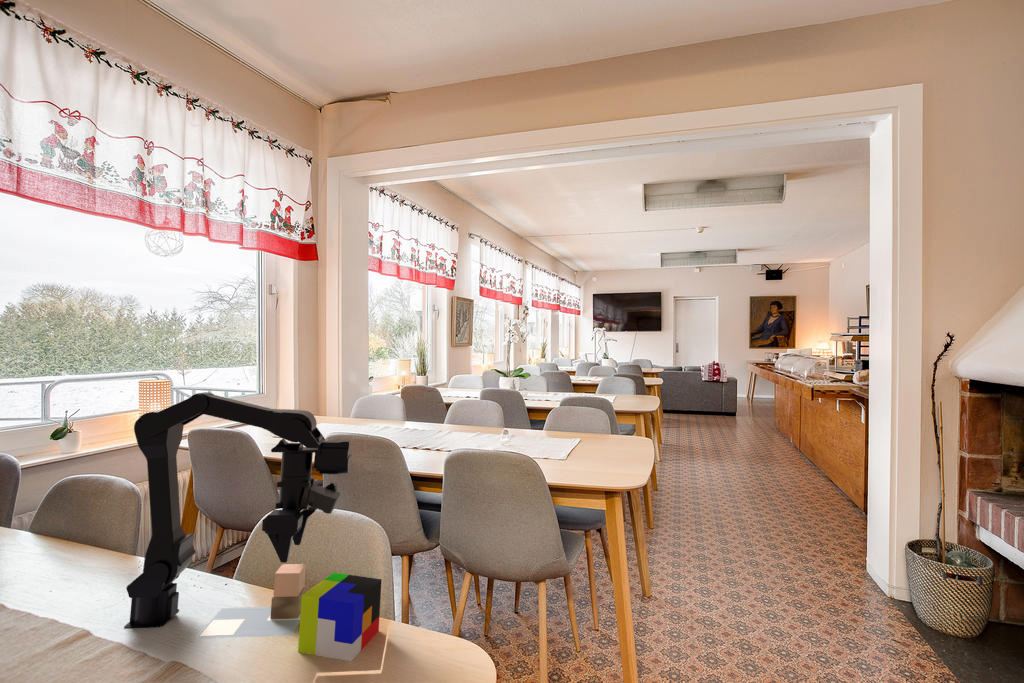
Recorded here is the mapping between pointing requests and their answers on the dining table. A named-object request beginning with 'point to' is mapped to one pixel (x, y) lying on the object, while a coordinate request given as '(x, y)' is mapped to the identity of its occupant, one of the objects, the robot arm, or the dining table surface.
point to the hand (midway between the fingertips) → (291, 553)
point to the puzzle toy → (339, 616)
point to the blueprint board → (247, 624)
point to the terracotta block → (289, 580)
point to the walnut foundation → (286, 606)
